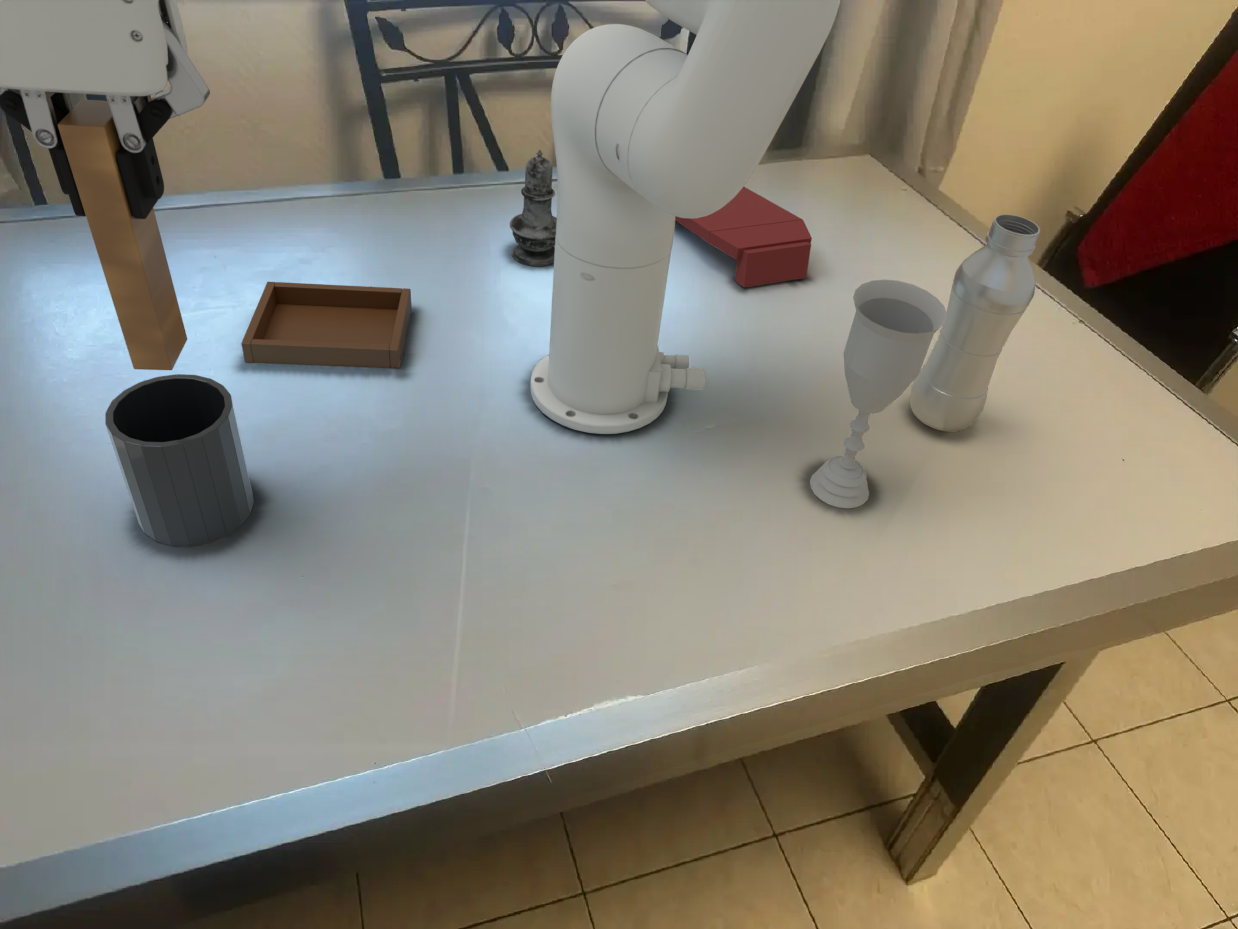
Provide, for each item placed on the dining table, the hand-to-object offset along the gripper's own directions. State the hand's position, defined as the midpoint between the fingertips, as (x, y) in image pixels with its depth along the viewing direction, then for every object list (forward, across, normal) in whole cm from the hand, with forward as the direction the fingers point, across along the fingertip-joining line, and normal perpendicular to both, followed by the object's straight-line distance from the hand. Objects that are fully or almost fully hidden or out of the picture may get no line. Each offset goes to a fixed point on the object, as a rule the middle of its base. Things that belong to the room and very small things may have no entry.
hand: (118, 204), depth 55 cm
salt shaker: (+26, -24, -42) cm, 55 cm away
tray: (+25, -6, -24) cm, 35 cm away
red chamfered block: (+26, -47, -50) cm, 73 cm away
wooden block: (+11, 0, 0) cm, 11 cm away
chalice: (+26, -50, -5) cm, 57 cm away
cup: (+25, 0, 0) cm, 25 cm away
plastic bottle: (+26, -62, -15) cm, 69 cm away
